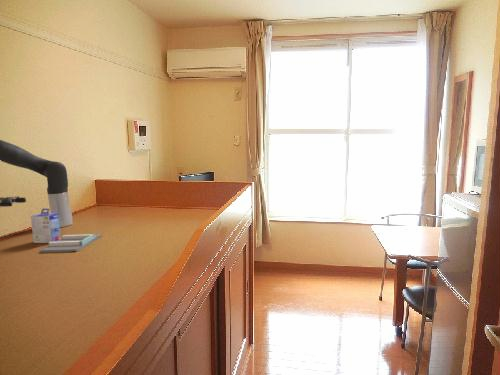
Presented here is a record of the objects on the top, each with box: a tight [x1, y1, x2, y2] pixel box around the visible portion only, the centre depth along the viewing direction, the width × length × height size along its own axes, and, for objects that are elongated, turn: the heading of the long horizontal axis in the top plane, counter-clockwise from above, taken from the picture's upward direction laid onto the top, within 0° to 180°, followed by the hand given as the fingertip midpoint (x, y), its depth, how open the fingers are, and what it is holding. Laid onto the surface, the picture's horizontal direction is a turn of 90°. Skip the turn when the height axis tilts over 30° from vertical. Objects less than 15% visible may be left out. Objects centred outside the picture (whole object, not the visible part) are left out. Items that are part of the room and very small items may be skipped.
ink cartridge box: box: [30, 208, 62, 244], centre depth 152 cm, size 10×6×14 cm, turn 78°
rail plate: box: [39, 233, 103, 254], centre depth 147 cm, size 20×15×2 cm
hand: (18, 201), depth 151 cm, fingers open, 8 cm apart
